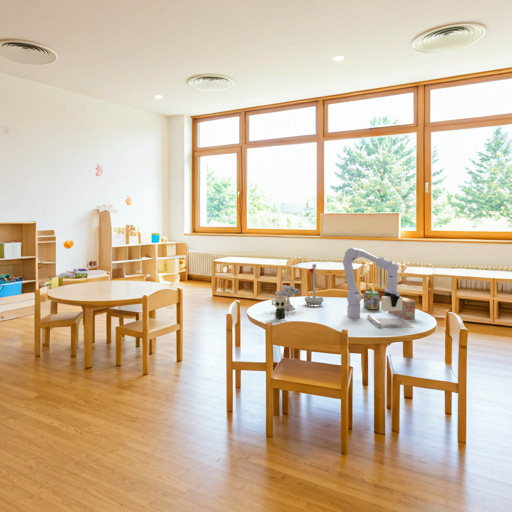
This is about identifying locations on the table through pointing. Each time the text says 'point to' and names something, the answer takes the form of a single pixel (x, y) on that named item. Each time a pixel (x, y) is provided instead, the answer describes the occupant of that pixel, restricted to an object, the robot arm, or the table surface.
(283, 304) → the character mug
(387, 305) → the cream carton
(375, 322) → the price rail
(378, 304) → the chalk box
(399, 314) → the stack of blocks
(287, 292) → the tree
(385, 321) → the shelf deck
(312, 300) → the flag stand
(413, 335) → the table surface
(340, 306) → the table surface
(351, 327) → the table surface
